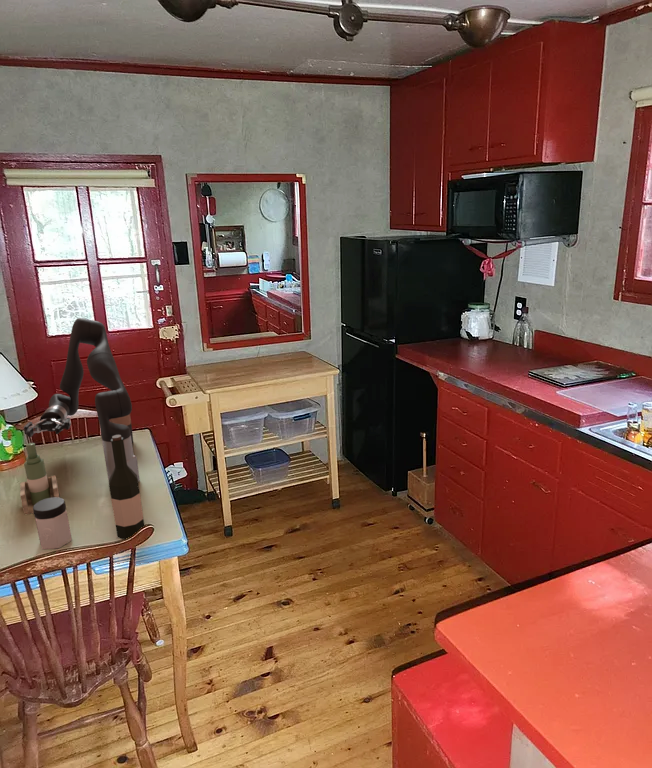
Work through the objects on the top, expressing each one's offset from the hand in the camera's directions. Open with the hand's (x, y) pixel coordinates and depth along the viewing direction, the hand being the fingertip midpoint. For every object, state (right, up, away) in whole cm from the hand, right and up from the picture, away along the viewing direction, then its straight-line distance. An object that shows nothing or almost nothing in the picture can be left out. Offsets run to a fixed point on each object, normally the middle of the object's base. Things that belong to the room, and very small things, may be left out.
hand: (42, 433), depth 191 cm
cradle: (+3, -22, -7) cm, 24 cm away
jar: (+18, -29, -29) cm, 45 cm away
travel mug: (+14, -8, +39) cm, 42 cm away
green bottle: (+3, -22, -7) cm, 23 cm away
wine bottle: (+38, -27, -25) cm, 53 cm away
